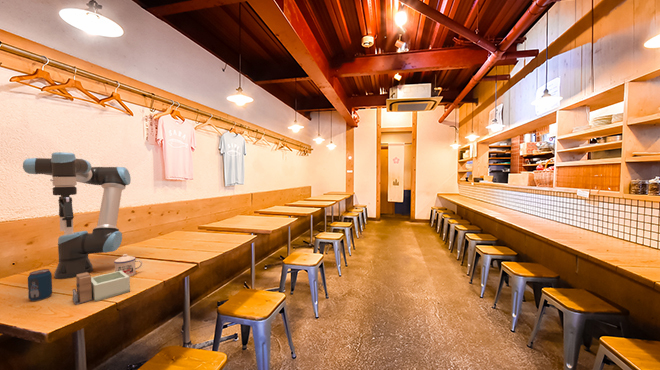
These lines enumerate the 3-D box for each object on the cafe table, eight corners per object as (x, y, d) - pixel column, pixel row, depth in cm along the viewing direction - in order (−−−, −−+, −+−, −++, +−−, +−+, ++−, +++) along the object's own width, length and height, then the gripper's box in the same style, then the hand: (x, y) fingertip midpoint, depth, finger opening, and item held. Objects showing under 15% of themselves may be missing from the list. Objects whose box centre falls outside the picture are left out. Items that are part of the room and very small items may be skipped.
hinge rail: (72, 299, 109) (71, 288, 109) (90, 294, 113) (89, 284, 113) (75, 305, 104) (74, 293, 104) (93, 299, 109) (93, 288, 108)
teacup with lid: (114, 280, 130) (113, 258, 130) (114, 275, 137) (114, 254, 137) (143, 274, 138) (142, 253, 138) (142, 270, 145) (141, 250, 145)
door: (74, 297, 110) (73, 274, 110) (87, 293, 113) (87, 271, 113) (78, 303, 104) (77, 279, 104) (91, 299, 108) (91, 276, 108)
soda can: (51, 293, 116) (51, 267, 116) (52, 297, 111) (51, 270, 111) (28, 298, 110) (27, 271, 110) (28, 303, 106) (27, 275, 106)
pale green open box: (88, 293, 115) (88, 278, 115) (121, 284, 125) (121, 270, 125) (95, 301, 107) (94, 285, 107) (130, 291, 116) (129, 276, 116)
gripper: (49, 186, 118) (51, 230, 119) (56, 187, 103) (58, 237, 104) (71, 185, 124) (73, 228, 125) (81, 186, 109) (83, 234, 110)
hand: (66, 232), depth 114 cm, fingers open, 13 cm apart
